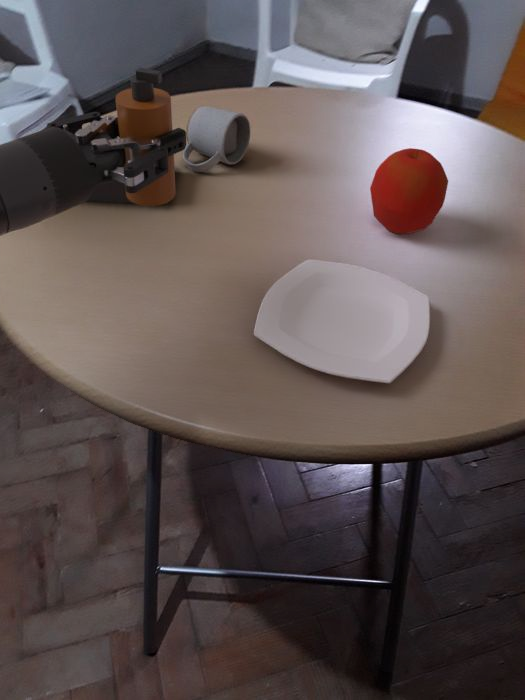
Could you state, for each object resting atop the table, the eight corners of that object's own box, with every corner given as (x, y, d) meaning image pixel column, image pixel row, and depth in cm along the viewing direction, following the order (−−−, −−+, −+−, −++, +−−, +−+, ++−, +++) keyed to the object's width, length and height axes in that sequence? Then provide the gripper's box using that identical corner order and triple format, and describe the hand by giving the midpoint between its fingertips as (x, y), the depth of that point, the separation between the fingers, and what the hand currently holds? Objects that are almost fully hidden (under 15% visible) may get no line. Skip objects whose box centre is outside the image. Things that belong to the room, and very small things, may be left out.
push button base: (83, 201, 90) (76, 162, 86) (97, 167, 97) (91, 130, 93) (167, 205, 90) (164, 166, 86) (174, 171, 97) (172, 134, 93)
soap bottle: (117, 200, 71) (102, 75, 61) (138, 177, 74) (127, 56, 65) (164, 210, 70) (156, 84, 60) (182, 186, 74) (177, 64, 64)
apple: (442, 247, 86) (465, 170, 78) (368, 243, 86) (384, 165, 78) (429, 207, 93) (449, 133, 85) (361, 204, 93) (375, 129, 85)
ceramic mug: (210, 139, 105) (209, 94, 100) (251, 153, 102) (252, 107, 97) (171, 165, 99) (167, 118, 93) (213, 181, 96) (212, 133, 91)
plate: (231, 350, 69) (231, 337, 68) (298, 259, 82) (300, 247, 81) (398, 412, 64) (402, 399, 63) (442, 304, 77) (447, 292, 76)
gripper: (68, 172, 53) (210, 115, 63) (-23, 117, 60) (118, 73, 69) (82, 245, 59) (211, 183, 68) (-4, 187, 65) (125, 138, 75)
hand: (163, 127), depth 69 cm, fingers closed on soap bottle, 5 cm apart
